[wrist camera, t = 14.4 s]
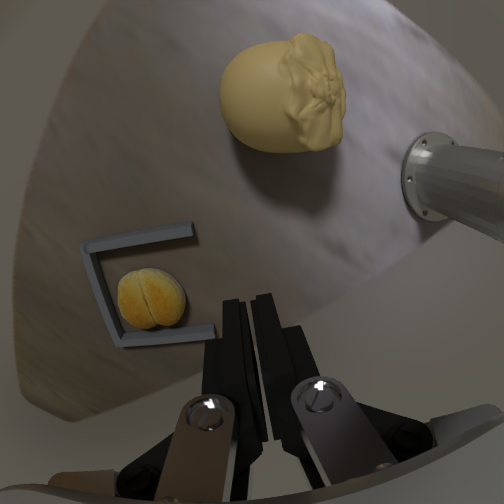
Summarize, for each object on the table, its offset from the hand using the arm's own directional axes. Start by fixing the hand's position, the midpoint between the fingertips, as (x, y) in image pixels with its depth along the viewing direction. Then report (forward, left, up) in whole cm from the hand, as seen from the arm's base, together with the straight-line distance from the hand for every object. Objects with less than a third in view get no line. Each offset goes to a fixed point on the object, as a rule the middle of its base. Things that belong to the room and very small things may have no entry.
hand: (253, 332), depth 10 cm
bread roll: (+12, +11, -25) cm, 30 cm away
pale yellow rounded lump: (-6, -11, -25) cm, 28 cm away
